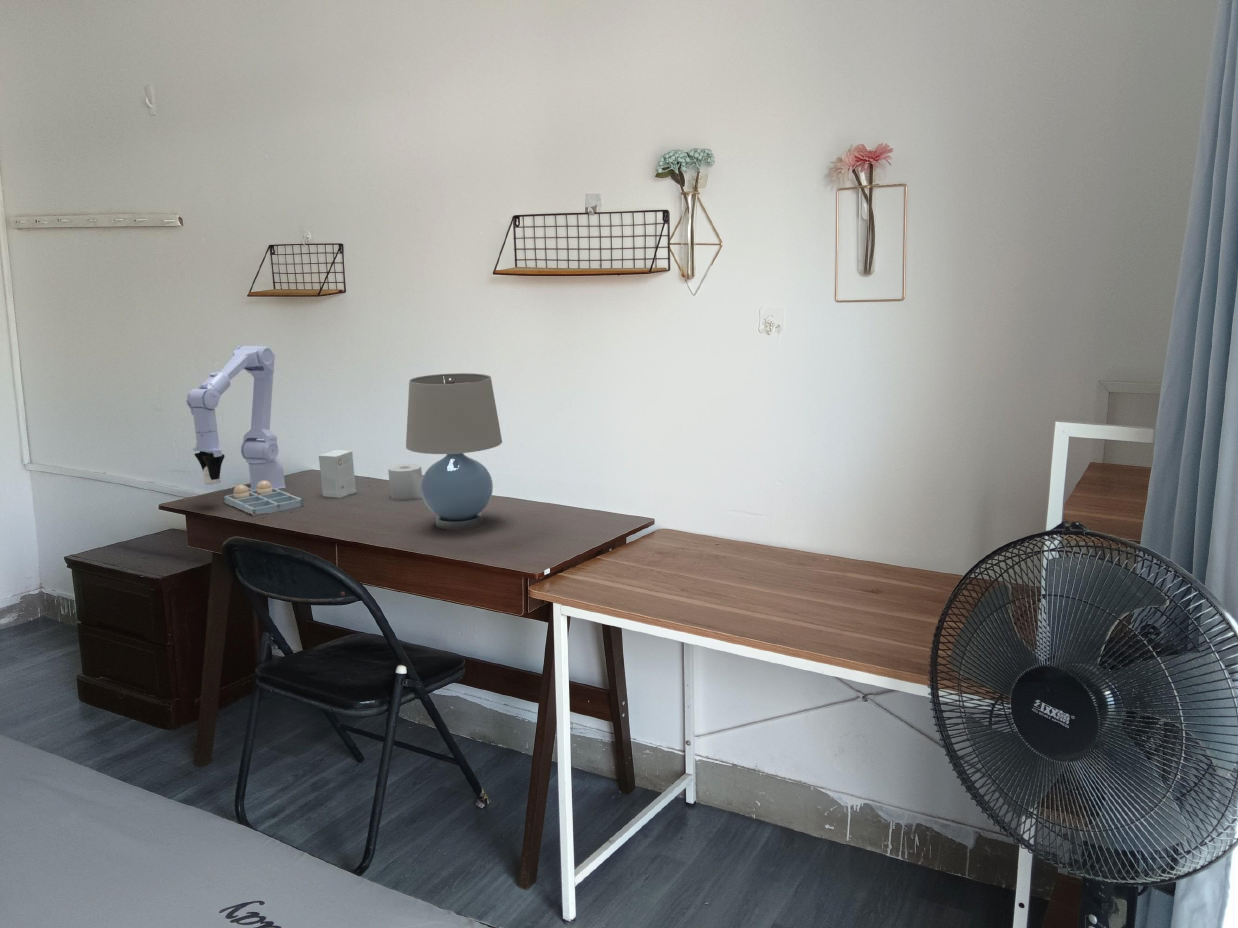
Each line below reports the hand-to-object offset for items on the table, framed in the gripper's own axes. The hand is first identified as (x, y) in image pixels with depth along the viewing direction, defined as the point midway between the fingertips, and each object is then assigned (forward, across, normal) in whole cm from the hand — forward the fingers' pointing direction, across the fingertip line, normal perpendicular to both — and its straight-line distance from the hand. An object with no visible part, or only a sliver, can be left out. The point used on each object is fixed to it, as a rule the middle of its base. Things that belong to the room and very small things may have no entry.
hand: (212, 477), depth 266 cm
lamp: (+9, +65, +40) cm, 77 cm away
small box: (+9, +13, +32) cm, 35 cm away
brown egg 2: (+8, +2, +14) cm, 16 cm away
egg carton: (+9, +8, +10) cm, 16 cm away
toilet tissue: (+9, +30, +46) cm, 56 cm away
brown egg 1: (+8, +2, +7) cm, 11 cm away
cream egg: (+2, 0, 0) cm, 2 cm away
